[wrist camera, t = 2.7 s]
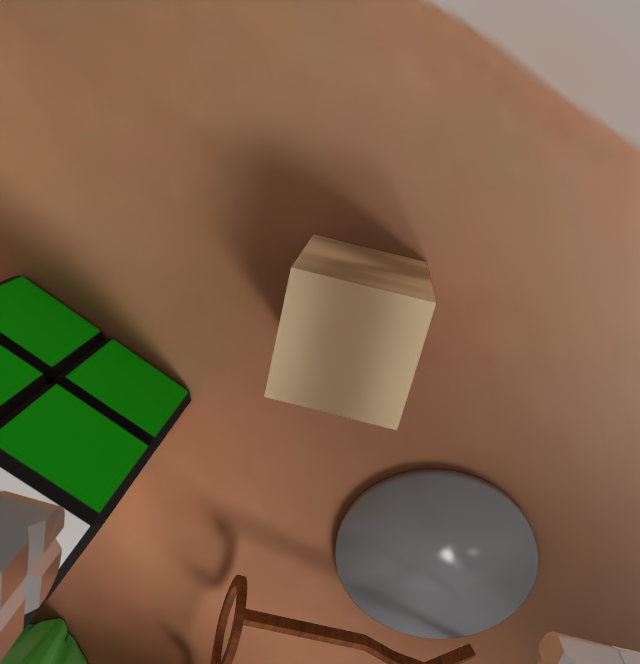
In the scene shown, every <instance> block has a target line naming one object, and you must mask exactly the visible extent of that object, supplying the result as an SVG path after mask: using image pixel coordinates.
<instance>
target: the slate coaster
mask: <svg viewBox="0 0 640 664" xmlns="http://www.w3.org/2000/svg"><path fill="white" fill-rule="evenodd" d="M335 560H336V568H337V571H338V575H339V578H340V580H341V582H342V585H343V587H344V589H345V590H346V592H347V593H348V595H349V597H350V598H351V599H352V600H353V601H354V603H355V604H356V605H357V606H358V607H359V608H360V609H361V610H362V611H364V612H365V613H366V614H367V615H369V616H370V617H371V618H373V619H374V620H376V621H377V622H379V623H381V624H383V625H384V626H386V627H389V628H391V629H393V630H396V631H398V632H402V633H405V634H408V635H412V636H417V637H423V638H432V639H448V638H458V637H464V636H469V635H473V634H476V633H479V632H482V631H485V630H487V629H489V628H492V627H494V626H495V625H497V624H499V623H501V622H502V621H504V620H505V619H507V618H508V617H509V616H510V615H512V614H513V613H514V612H515V611H516V610H517V609H518V608H519V607H520V606H521V605H522V604H523V602H524V601H525V600H526V598H527V597H528V595H529V593H530V591H531V590H532V588H533V585H534V582H535V580H536V576H537V571H538V550H537V544H536V541H535V538H534V535H533V532H532V529H531V526H530V524H529V522H528V520H527V518H526V516H525V515H524V513H523V512H522V510H521V509H520V508H519V506H518V505H517V504H516V503H515V502H514V501H513V500H512V499H511V498H510V497H509V496H508V495H506V494H505V493H504V492H503V491H501V490H500V489H499V488H497V487H495V486H494V485H492V484H490V483H489V482H487V481H484V480H482V479H480V478H478V477H475V476H472V475H469V474H466V473H462V472H457V471H452V470H442V469H421V470H414V471H408V472H404V473H400V474H397V475H394V476H391V477H389V478H386V479H384V480H382V481H380V482H378V483H376V484H375V485H373V486H371V487H370V488H369V489H367V490H366V491H364V492H363V493H362V494H361V495H360V496H359V497H358V498H357V499H356V500H355V501H354V502H353V503H352V505H351V506H350V507H349V508H348V510H347V512H346V513H345V515H344V517H343V519H342V521H341V524H340V527H339V530H338V535H337V540H336V550H335Z"/></svg>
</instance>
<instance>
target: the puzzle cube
mask: <svg viewBox="0 0 640 664" xmlns="http://www.w3.org/2000/svg"><path fill="white" fill-rule="evenodd" d="M190 401H191V397H190V393H189V391H187V390H186V389H184V388H183V387H182V386H180V385H179V384H177V383H176V382H174V381H173V380H172V379H170V378H169V377H167V376H166V375H164V374H163V373H161V372H160V371H159V370H157V369H156V368H154V367H153V366H151V365H150V364H149V363H147V362H146V361H144V360H143V359H141V358H140V357H139V356H137V355H136V354H134V353H133V352H131V351H130V350H129V349H127V348H126V347H124V346H123V345H121V344H120V343H118V342H117V341H116V340H114V339H105V340H104V338H103V334H102V331H101V330H99V329H98V328H97V327H95V326H94V325H92V324H91V323H89V322H88V321H87V320H85V319H84V318H82V317H81V316H79V315H78V314H76V313H75V312H74V311H72V310H71V309H69V308H68V307H66V306H65V305H64V304H62V303H61V302H59V301H58V300H56V299H55V298H54V297H52V296H51V295H49V294H48V293H46V292H45V291H44V290H42V289H41V288H39V287H38V286H36V285H35V284H33V283H32V282H31V281H29V280H28V279H26V278H25V277H23V276H16V277H12V278H9V279H7V280H5V281H2V282H0V490H1V491H8V492H11V493H15V494H19V495H22V496H26V497H29V498H33V499H36V500H40V501H43V502H47V503H51V504H54V505H58V506H61V507H62V508H63V509H64V510H65V520H64V528H63V529H62V530H61V532H60V533H59V534H58V536H57V537H56V539H57V541H58V543H59V544H60V546H61V548H62V554H61V562H60V566H59V569H58V573H57V576H56V578H55V580H54V583H53V585H52V587H51V589H50V591H49V593H48V595H47V596H46V598H45V599H44V601H43V602H42V604H41V605H40V607H39V608H37V609H35V610H33V611H31V612H29V613H27V614H25V615H24V625H23V631H24V629H25V628H26V626H27V625H28V624H29V622H30V621H31V620H32V618H33V617H34V616H35V614H36V613H37V612H38V610H39V609H40V608H41V606H42V605H43V603H44V602H45V601H46V600H47V599H48V598H49V596H50V595H51V594H52V592H53V591H54V590H55V588H56V587H57V586H58V584H59V583H60V582H61V580H62V579H63V578H64V576H65V575H66V574H67V572H68V571H69V570H70V568H71V567H72V566H73V564H74V563H75V562H76V560H77V559H78V558H79V556H80V555H81V554H82V552H83V551H84V549H85V548H86V547H87V545H88V544H89V543H90V541H91V540H92V539H93V537H94V536H95V535H96V533H97V532H98V531H99V529H100V528H101V527H102V525H103V524H104V523H105V521H106V520H107V518H108V517H109V515H110V514H111V513H112V511H113V510H114V508H115V507H116V505H117V504H118V503H119V501H120V500H121V498H122V497H123V495H124V494H125V493H126V491H127V490H128V488H129V487H130V486H131V484H132V483H133V481H134V480H135V478H136V477H137V476H138V474H139V473H140V471H141V470H142V468H143V467H144V466H145V464H146V463H147V461H148V460H149V459H150V457H151V456H152V454H153V453H154V451H155V450H156V449H157V447H158V446H159V445H160V443H161V442H162V440H163V439H164V438H165V436H166V435H167V433H168V432H169V431H170V429H171V428H172V426H173V425H174V424H175V422H176V421H177V419H178V418H179V417H180V415H181V414H182V412H183V411H184V410H185V408H186V407H187V405H188V404H189V403H190ZM23 631H22V632H23ZM20 635H21V634H20ZM20 635H19V636H20ZM17 639H18V638H17ZM14 643H15V642H14Z"/></svg>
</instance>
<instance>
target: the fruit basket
mask: <svg viewBox="0 0 640 664" xmlns="http://www.w3.org/2000/svg"><path fill="white" fill-rule="evenodd" d="M67 632H68V631H67V626H66V623H65V622H64V620H63V619H61V618H58V619H52V620H46V621H41V622H39V623H37V624H35V625H34V624H28V625H27V626H26V628H25V629H24V631H23V632H22V633H21V635H20V636H19V637H18V639H17V640H16V641H15V643H14V644H13V645H12V647H11V648H10V650H9V651H8V652H7V654H6V655H5V657H4V658H3V659H2V661H1V662H0V664H87V661H86V659H85V657H84V656H83V654H82V652H81V650H80V649H79V647H78V645H77V643H76V641H75V640H74V638H73V637H72V636H71V635H70V634H69V633H67Z"/></svg>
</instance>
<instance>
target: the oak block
mask: <svg viewBox="0 0 640 664" xmlns="http://www.w3.org/2000/svg"><path fill="white" fill-rule="evenodd" d="M435 306H436V300H435V295H434V291H433V286H432V282H431V278H430V273H429V269H428V264H427V262H425V261H421V260H417V259H413V258H409V257H404V256H400V255H396V254H392V253H388V252H384V251H380V250H376V249H372V248H368V247H363V246H359V245H355V244H351V243H347V242H343V241H339V240H335V239H331V238H327V237H323V236H318V235H314V234H313V236H312V237H311V239H310V240H309V242H308V243H307V244H306V246H305V247H304V249H303V250H302V252H301V253H300V255H299V256H298V258H297V259H296V261H295V262H294V264H293V265H292V267H291V270H290V275H289V280H288V284H287V289H286V294H285V299H284V304H283V308H282V313H281V318H280V323H279V328H278V332H277V337H276V342H275V347H274V352H273V356H272V361H271V366H270V371H269V376H268V381H267V385H266V390H265V395H264V397H267V398H271V399H275V400H279V401H282V402H286V403H290V404H294V405H298V406H302V407H306V408H310V409H314V410H318V411H322V412H326V413H330V414H334V415H338V416H342V417H346V418H350V419H353V420H357V421H361V422H365V423H369V424H373V425H377V426H381V427H385V428H389V429H393V430H397V429H398V426H399V423H400V420H401V416H402V413H403V410H404V407H405V403H406V400H407V397H408V394H409V390H410V387H411V384H412V381H413V377H414V374H415V371H416V367H417V364H418V361H419V358H420V354H421V351H422V348H423V345H424V341H425V338H426V335H427V332H428V328H429V325H430V322H431V319H432V315H433V312H434V309H435Z"/></svg>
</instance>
